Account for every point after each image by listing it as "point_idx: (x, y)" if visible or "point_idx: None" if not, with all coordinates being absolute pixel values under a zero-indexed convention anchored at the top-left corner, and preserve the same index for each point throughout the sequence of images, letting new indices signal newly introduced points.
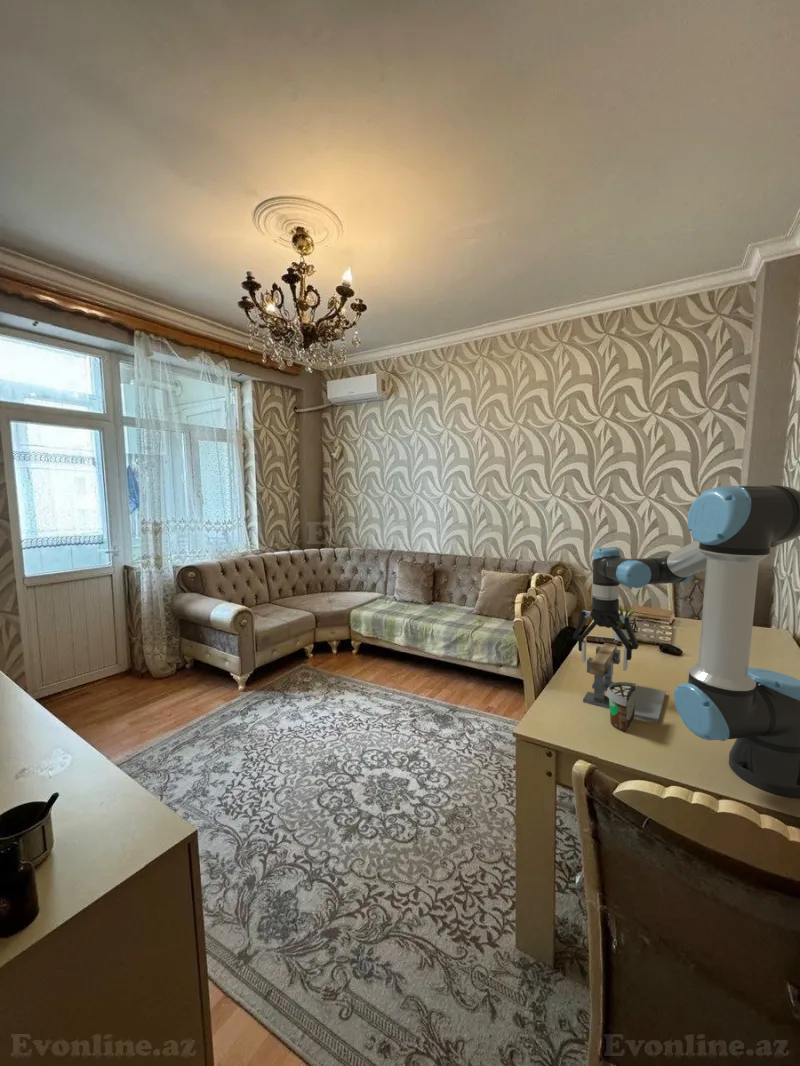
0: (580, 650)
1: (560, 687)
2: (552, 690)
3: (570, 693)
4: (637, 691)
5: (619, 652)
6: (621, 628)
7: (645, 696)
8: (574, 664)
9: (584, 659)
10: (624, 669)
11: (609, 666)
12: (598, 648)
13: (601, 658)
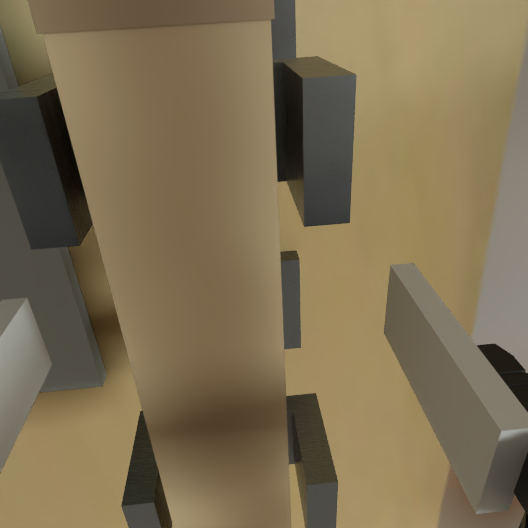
0: (483, 350)
1: (466, 139)
2: (511, 56)
3: (394, 87)
4: (67, 323)
5: (131, 522)
6: None
7: (4, 288)
8: (432, 441)
9: (398, 294)
10: (9, 305)
11: (18, 92)
12: (318, 499)
13: (175, 219)
